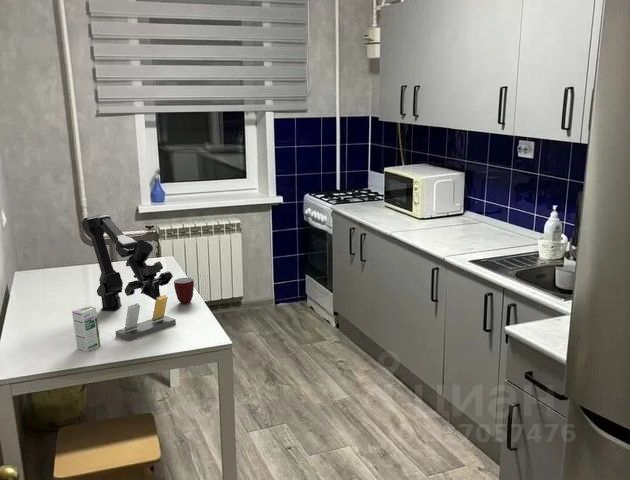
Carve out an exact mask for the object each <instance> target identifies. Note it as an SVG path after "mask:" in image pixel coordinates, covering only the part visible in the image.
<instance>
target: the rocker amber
mask: <svg viewBox="0 0 630 480" xmlns="http://www.w3.org/2000/svg"><path fill="white" fill-rule="evenodd" d="M168 299H169V298H168V296H167V295H166V294H164V295H160V297H157V298H156V300H155V303H154V308H153V309H154V310H153V314H152V317H151V319H152V321H153V322H154V321H157V320H160V319H163V318H164V315H165V313H166V307H167V302H168Z"/></svg>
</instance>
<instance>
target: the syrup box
mask: <svg viewBox="0 0 630 480" xmlns="http://www.w3.org/2000/svg"><path fill="white" fill-rule="evenodd" d="M71 314H72V323H73V327H74V335H75V341H76V342H75V343H76V348H77V350H80V351H84V352H89V351H91V350H93V349H94V350H95V349H96V348H99V347H101V346H102V345H101V339H100V330H99V325H98V317H97V308H96V307H94V306H91V305H84V306H81V307H79V308H76V309H72V310H71Z"/></svg>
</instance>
